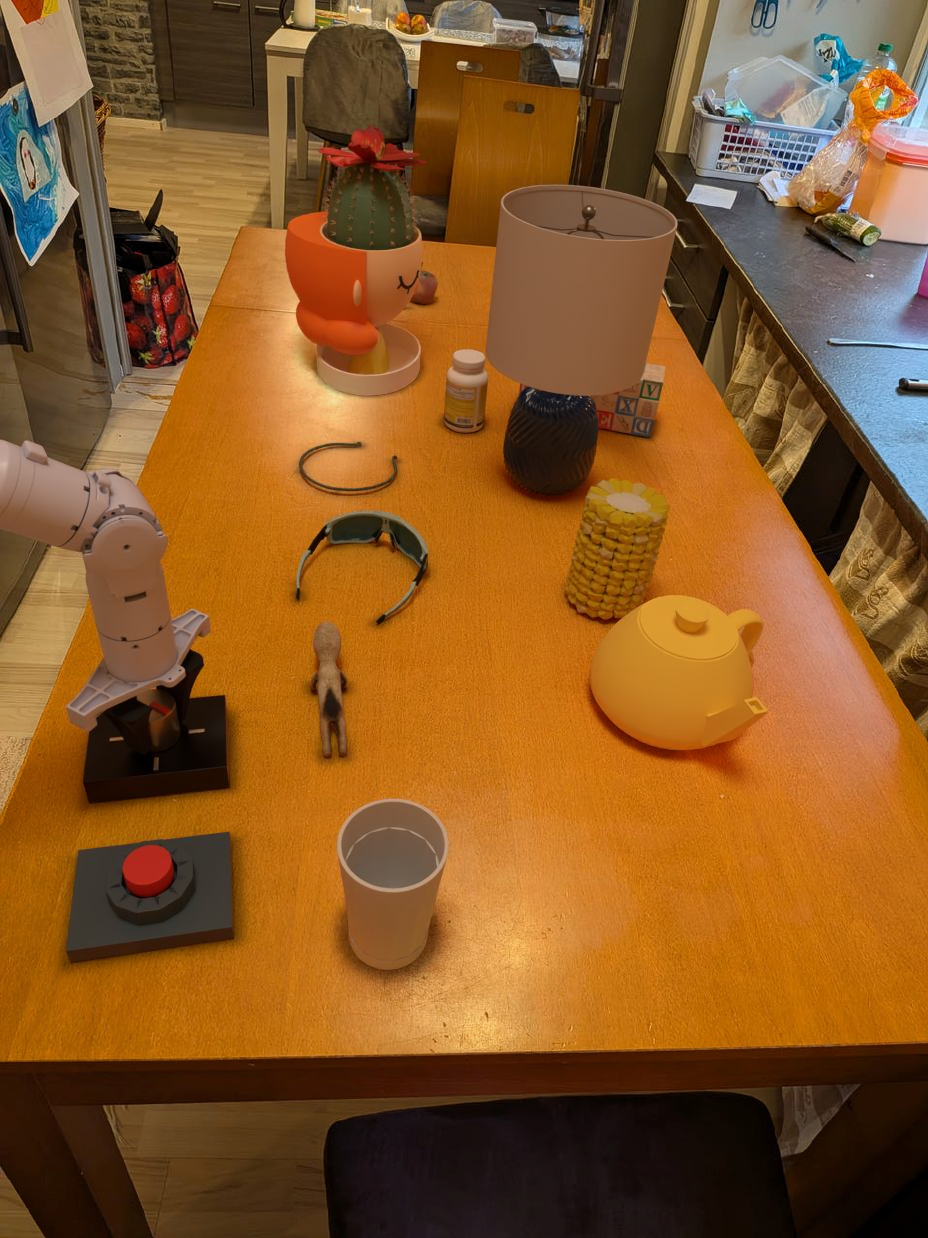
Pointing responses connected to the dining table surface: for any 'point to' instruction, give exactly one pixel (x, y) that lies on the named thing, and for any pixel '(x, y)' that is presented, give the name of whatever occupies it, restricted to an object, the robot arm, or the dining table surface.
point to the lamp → (571, 318)
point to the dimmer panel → (161, 758)
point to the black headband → (344, 488)
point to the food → (616, 548)
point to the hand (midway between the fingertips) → (156, 732)
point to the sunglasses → (370, 529)
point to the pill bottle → (466, 392)
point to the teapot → (679, 673)
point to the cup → (391, 879)
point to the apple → (426, 288)
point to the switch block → (151, 900)
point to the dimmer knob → (161, 719)
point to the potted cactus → (359, 270)
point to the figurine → (329, 686)
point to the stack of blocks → (631, 404)
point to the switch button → (148, 871)
